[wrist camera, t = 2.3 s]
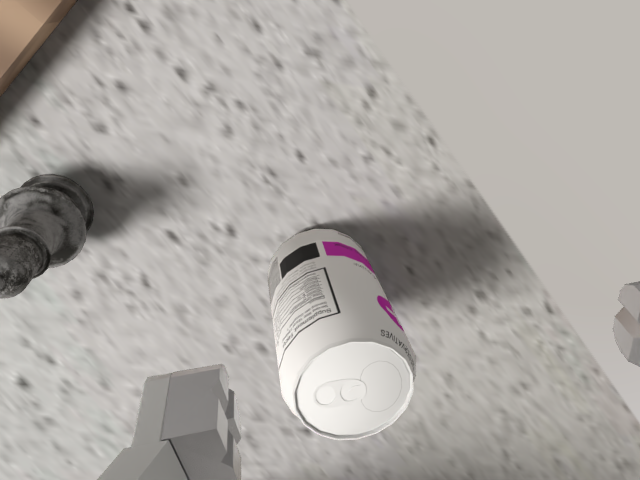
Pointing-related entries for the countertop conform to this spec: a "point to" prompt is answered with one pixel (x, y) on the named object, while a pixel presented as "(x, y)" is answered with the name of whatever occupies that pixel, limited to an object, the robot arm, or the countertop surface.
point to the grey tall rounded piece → (40, 229)
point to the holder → (25, 32)
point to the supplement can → (337, 338)
